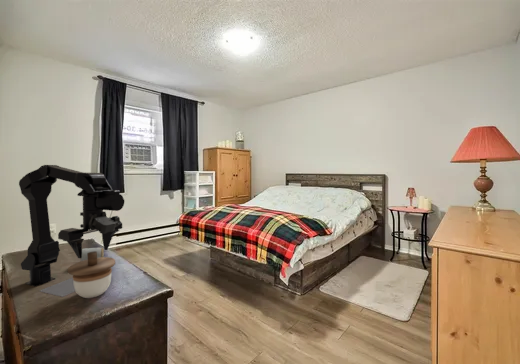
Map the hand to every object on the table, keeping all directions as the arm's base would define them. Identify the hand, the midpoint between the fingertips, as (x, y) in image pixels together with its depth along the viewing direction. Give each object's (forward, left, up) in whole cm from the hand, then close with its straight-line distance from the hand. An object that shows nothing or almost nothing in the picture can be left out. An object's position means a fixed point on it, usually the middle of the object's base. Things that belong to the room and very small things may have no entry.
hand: (93, 253), depth 84 cm
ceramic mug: (-24, +17, -13) cm, 32 cm away
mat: (-10, -1, -13) cm, 16 cm away
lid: (+3, -2, -3) cm, 5 cm away
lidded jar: (+3, -3, -13) cm, 13 cm away
